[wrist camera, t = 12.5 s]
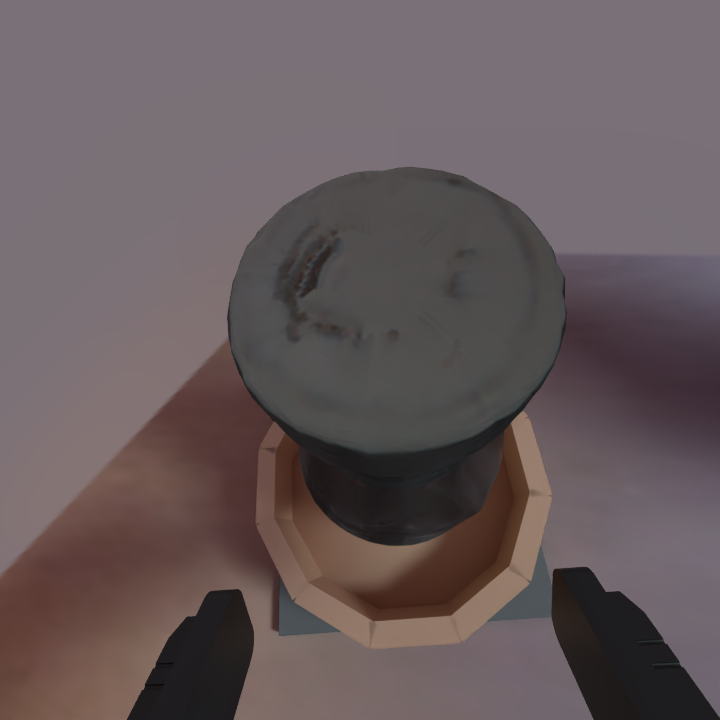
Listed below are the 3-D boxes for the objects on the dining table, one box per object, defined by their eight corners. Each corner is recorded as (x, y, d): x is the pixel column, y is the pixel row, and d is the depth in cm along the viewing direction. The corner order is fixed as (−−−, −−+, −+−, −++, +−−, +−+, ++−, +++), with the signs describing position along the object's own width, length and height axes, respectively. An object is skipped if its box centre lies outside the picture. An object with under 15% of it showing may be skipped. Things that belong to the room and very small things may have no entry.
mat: (489, 361, 26) (490, 358, 26) (555, 613, 20) (559, 616, 19) (284, 387, 27) (282, 384, 27) (282, 633, 21) (278, 635, 20)
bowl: (490, 358, 26) (503, 329, 22) (559, 616, 19) (593, 634, 15) (282, 384, 27) (262, 361, 23) (278, 635, 20) (249, 656, 17)
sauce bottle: (328, 475, 23) (33, 257, 5) (402, 410, 24) (371, 50, 6) (400, 568, 20) (304, 788, 2) (479, 489, 21) (802, 254, 4)
